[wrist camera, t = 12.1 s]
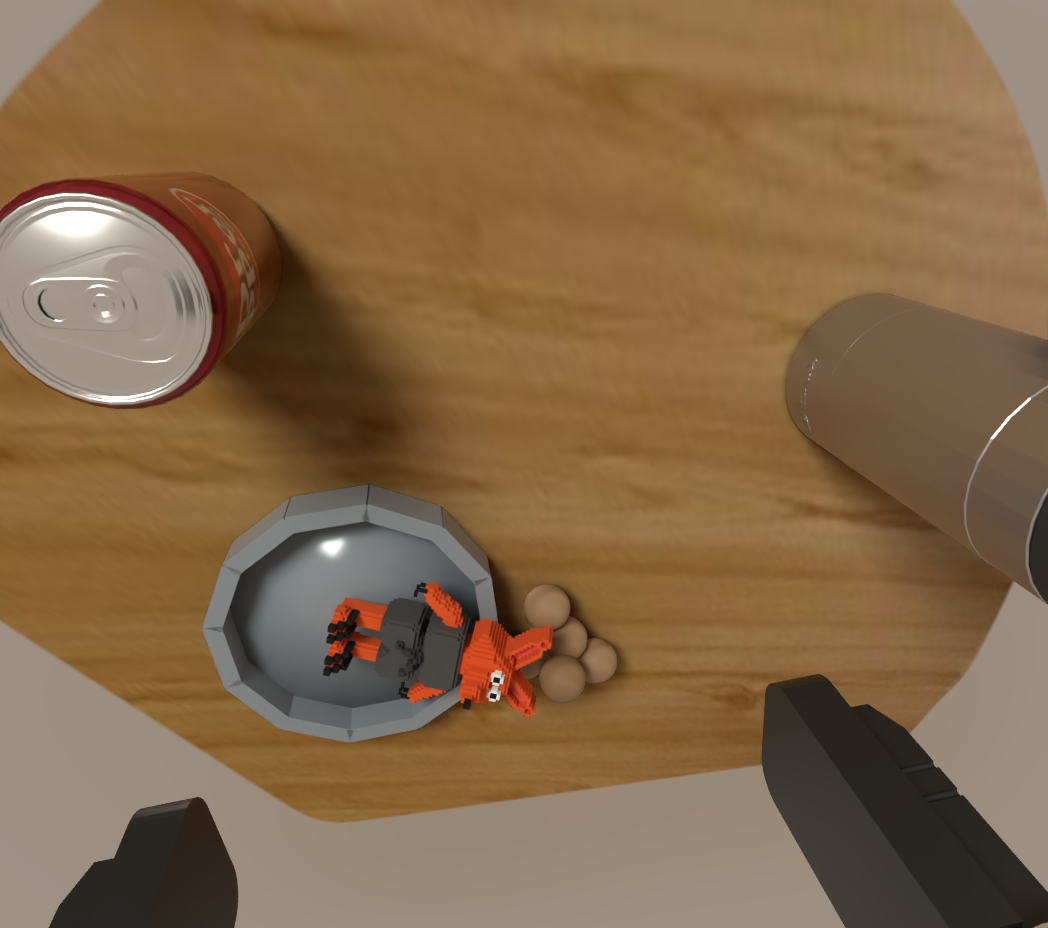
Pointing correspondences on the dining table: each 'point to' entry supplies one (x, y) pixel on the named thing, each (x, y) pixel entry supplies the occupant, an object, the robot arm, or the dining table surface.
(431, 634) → the toy animal
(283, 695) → the dish
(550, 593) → the bead pile
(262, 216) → the soda can
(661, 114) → the dining table surface
